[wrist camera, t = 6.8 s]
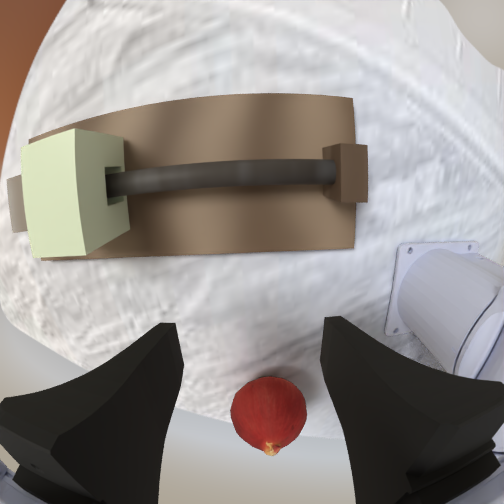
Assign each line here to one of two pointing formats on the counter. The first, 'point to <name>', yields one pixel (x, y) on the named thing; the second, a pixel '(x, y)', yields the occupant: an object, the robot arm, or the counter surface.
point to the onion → (269, 413)
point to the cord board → (229, 175)
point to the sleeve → (72, 193)
